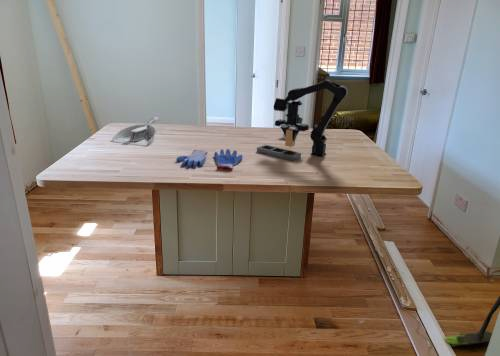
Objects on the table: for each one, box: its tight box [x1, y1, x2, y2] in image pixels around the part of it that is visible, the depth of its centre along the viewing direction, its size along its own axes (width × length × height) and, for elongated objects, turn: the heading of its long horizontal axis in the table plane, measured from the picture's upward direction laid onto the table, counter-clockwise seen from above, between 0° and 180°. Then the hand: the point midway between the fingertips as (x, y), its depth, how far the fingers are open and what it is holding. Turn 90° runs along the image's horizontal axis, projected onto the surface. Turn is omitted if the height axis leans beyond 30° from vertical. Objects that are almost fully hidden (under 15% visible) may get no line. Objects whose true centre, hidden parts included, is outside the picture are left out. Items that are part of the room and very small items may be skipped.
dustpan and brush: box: [112, 116, 159, 147], centre depth 230 cm, size 23×33×10 cm
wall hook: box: [282, 127, 298, 140], centre depth 242 cm, size 9×10×10 cm
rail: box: [256, 144, 302, 162], centre depth 210 cm, size 23×8×2 cm, turn 54°
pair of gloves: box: [176, 148, 244, 172], centre depth 196 cm, size 32×26×4 cm
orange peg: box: [284, 128, 296, 148], centre depth 217 cm, size 4×4×9 cm
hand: (290, 140), depth 218 cm, fingers closed on orange peg, 4 cm apart
